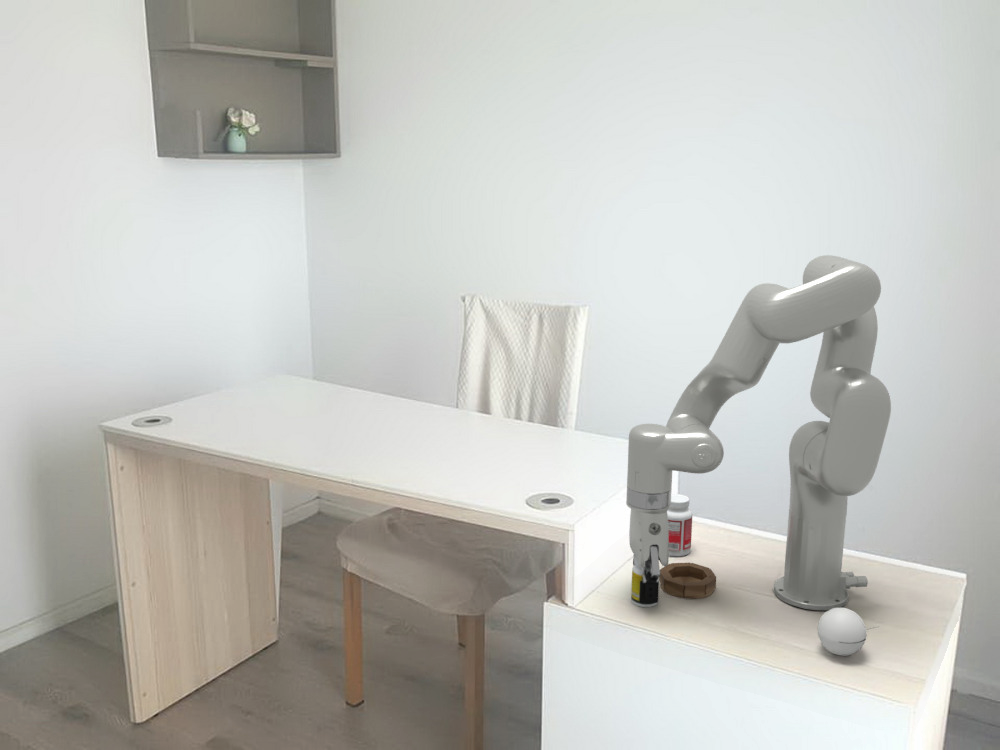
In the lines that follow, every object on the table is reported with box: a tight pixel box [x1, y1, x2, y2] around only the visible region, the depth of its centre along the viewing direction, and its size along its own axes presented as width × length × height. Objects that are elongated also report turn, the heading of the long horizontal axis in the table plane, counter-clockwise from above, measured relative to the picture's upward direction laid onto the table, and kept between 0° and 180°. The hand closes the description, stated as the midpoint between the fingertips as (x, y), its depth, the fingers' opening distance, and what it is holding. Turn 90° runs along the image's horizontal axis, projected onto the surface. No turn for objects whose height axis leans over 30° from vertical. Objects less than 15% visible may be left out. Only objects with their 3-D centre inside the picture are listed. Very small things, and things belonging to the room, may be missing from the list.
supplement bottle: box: [630, 558, 659, 608], centre depth 171 cm, size 5×5×8 cm
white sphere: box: [817, 607, 880, 656], centre depth 154 cm, size 10×7×7 cm
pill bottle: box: [667, 493, 693, 557], centre depth 192 cm, size 6×6×11 cm
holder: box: [659, 562, 717, 600], centre depth 177 cm, size 10×10×3 cm
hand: (644, 594), depth 171 cm, fingers closed on supplement bottle, 4 cm apart
